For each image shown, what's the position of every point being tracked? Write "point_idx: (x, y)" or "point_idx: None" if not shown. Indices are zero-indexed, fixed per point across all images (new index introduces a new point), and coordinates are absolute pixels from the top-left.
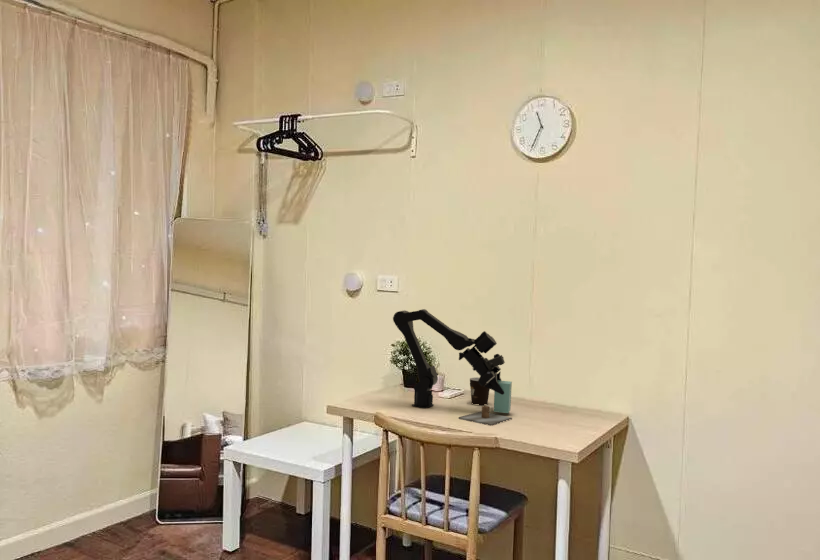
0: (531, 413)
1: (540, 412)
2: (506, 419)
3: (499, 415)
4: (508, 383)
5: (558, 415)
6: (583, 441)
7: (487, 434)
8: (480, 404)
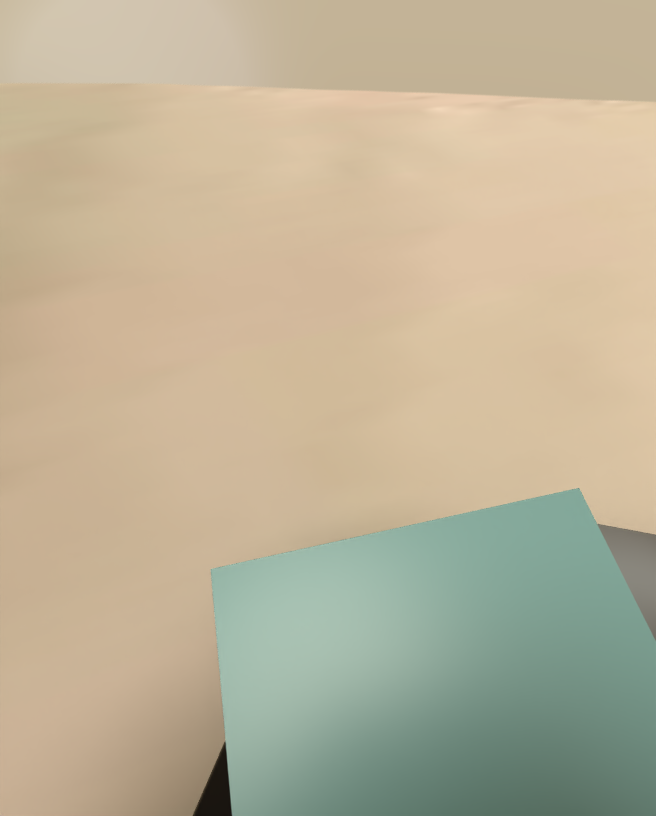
0: (185, 452)
1: (109, 406)
2: (615, 527)
3: None
4: (542, 538)
5: (154, 290)
6: (639, 112)
7: None
8: None
